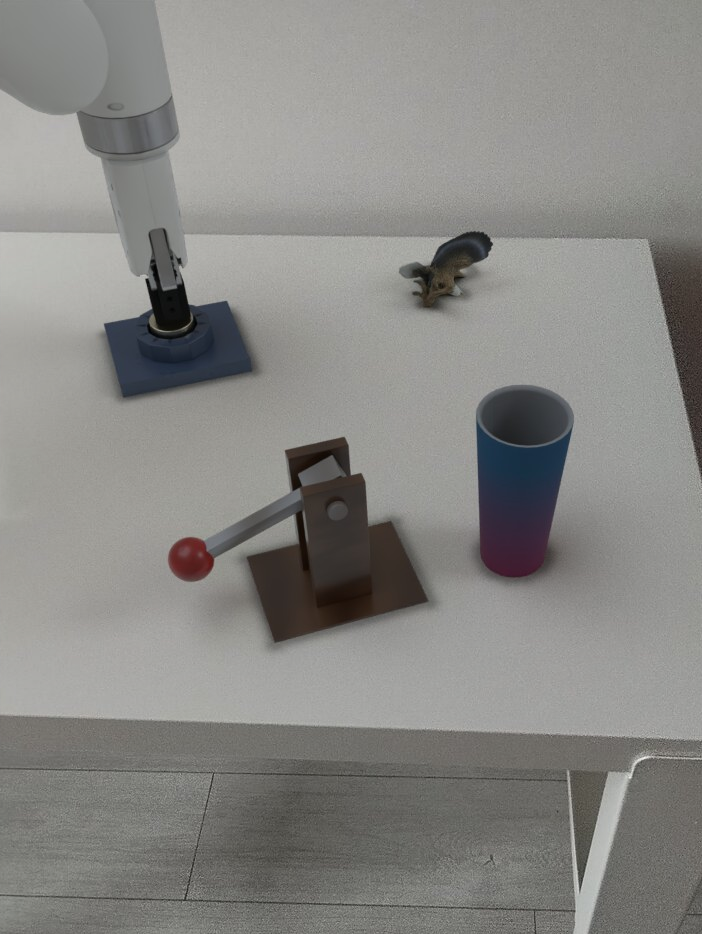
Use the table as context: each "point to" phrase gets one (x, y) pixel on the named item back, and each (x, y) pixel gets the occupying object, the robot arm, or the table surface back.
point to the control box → (177, 351)
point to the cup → (519, 474)
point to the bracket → (332, 555)
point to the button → (171, 328)
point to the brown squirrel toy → (448, 265)
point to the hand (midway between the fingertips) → (172, 317)
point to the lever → (244, 527)
